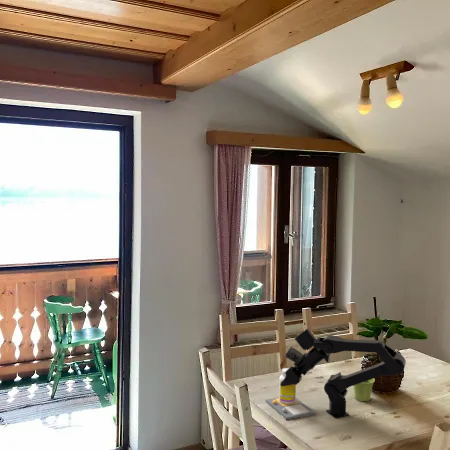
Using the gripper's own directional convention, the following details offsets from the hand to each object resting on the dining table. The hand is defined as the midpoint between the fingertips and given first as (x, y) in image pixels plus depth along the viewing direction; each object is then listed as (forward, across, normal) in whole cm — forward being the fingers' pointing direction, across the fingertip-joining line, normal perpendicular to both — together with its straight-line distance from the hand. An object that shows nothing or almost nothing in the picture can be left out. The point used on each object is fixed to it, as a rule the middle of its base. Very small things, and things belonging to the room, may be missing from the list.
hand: (284, 381), depth 201 cm
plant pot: (-13, -19, +26) cm, 35 cm away
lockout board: (+4, +4, +9) cm, 10 cm away
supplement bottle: (+5, 0, +7) cm, 8 cm away
